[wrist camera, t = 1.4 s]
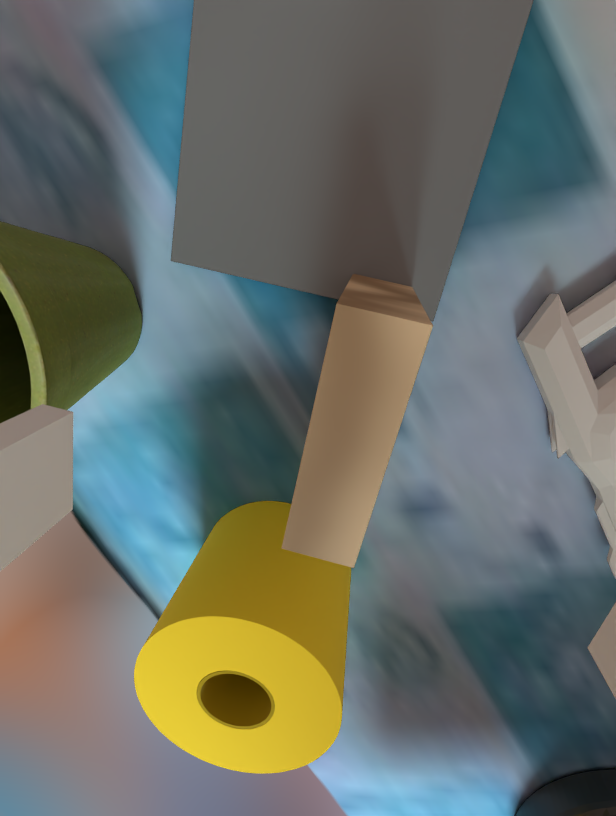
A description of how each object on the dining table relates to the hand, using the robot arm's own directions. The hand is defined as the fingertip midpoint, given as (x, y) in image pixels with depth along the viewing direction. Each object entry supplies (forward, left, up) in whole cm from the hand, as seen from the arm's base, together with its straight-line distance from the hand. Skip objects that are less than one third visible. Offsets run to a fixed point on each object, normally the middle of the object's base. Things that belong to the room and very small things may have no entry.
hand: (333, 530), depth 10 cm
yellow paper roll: (-14, +2, -15) cm, 21 cm away
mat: (+12, +4, -15) cm, 19 cm away
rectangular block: (0, 0, -14) cm, 14 cm away
